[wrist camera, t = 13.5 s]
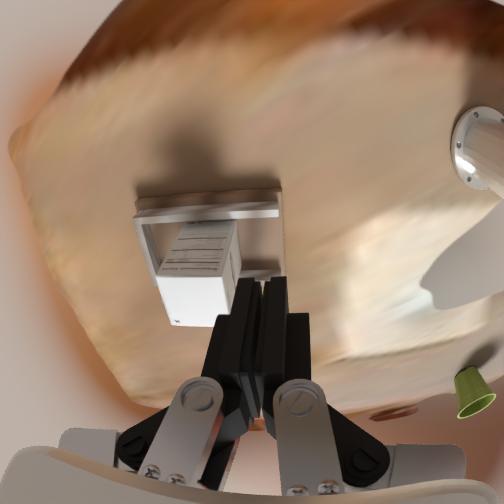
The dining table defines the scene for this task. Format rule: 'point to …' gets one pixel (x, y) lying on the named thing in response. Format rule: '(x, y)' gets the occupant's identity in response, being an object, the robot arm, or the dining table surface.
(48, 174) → the dining table surface
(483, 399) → the plant pot
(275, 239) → the board
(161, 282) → the supplement box
